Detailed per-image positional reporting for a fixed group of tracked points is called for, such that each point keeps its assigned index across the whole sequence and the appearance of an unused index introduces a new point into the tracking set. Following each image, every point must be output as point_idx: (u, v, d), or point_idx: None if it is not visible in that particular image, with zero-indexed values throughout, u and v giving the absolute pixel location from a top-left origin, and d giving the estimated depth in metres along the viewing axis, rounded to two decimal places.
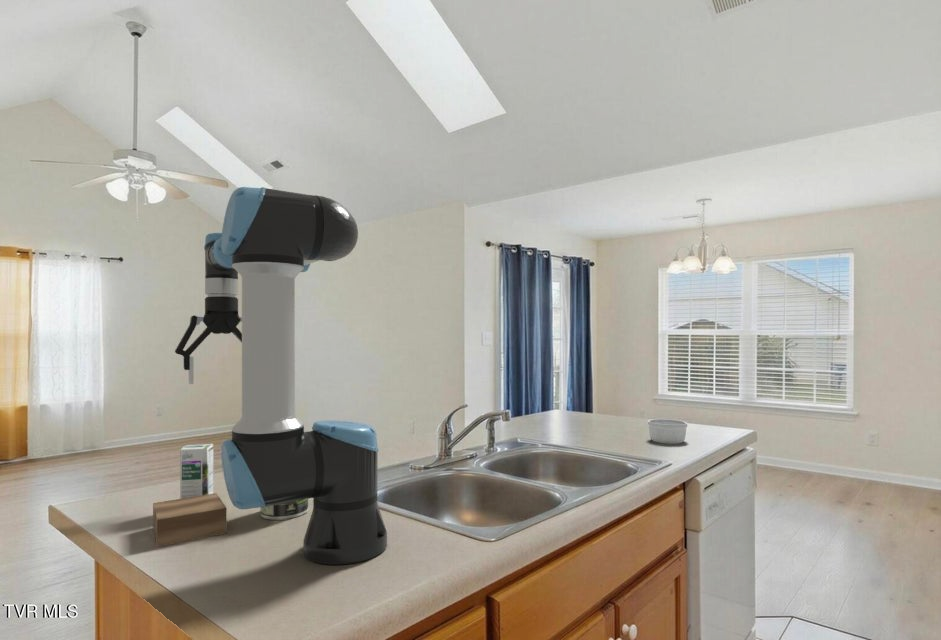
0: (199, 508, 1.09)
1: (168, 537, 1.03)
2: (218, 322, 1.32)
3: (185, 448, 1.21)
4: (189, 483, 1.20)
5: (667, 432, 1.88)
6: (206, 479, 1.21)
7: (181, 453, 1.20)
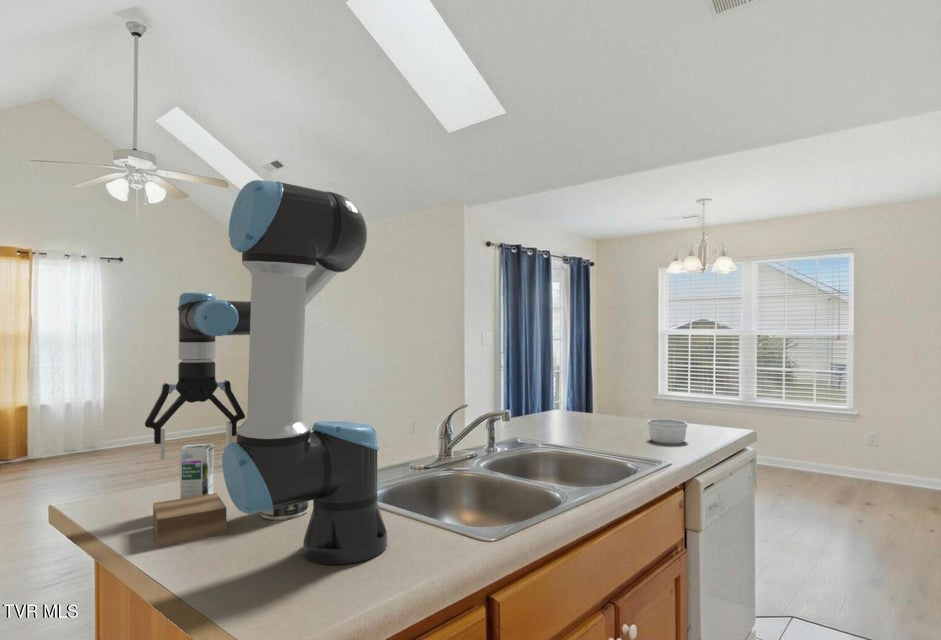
0: (199, 508, 1.09)
1: (168, 537, 1.03)
2: (193, 390, 1.21)
3: (185, 448, 1.21)
4: (189, 483, 1.20)
5: (667, 432, 1.88)
6: (206, 479, 1.21)
7: (181, 453, 1.20)
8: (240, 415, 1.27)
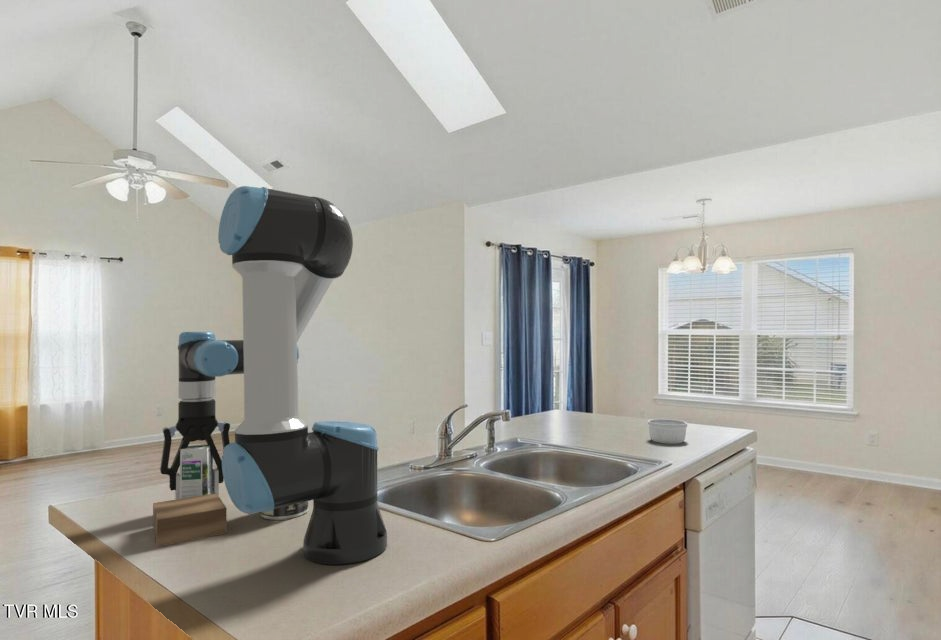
0: (199, 508, 1.09)
1: (168, 537, 1.03)
2: (193, 429, 1.21)
3: None
4: (189, 483, 1.20)
5: (667, 432, 1.88)
6: (206, 479, 1.21)
7: (181, 453, 1.20)
8: None
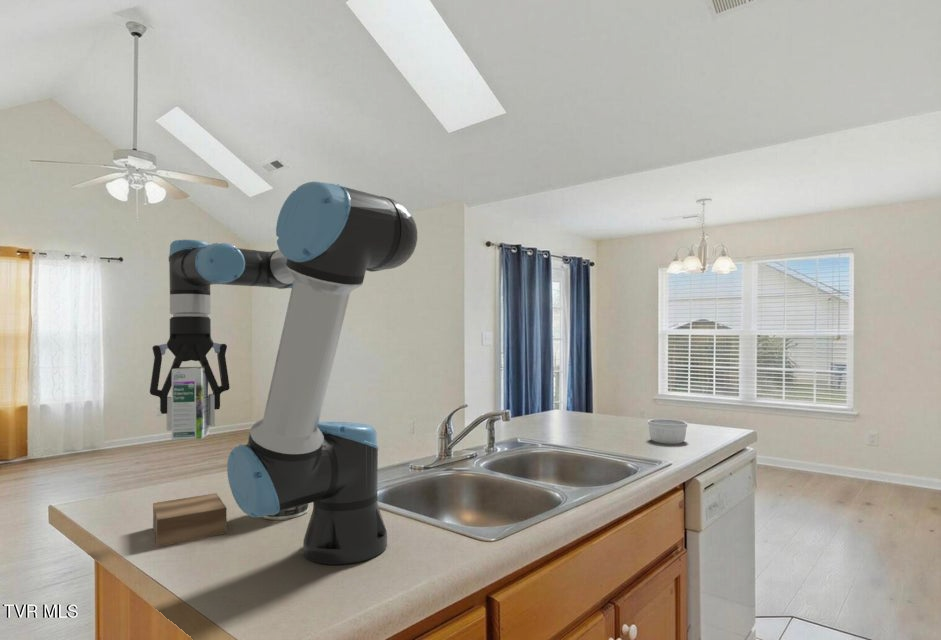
0: (199, 508, 1.09)
1: (168, 537, 1.03)
2: (185, 347, 1.09)
3: (177, 368, 1.09)
4: (181, 406, 1.08)
5: (667, 432, 1.88)
6: (200, 402, 1.09)
7: (172, 373, 1.09)
8: (224, 385, 1.14)
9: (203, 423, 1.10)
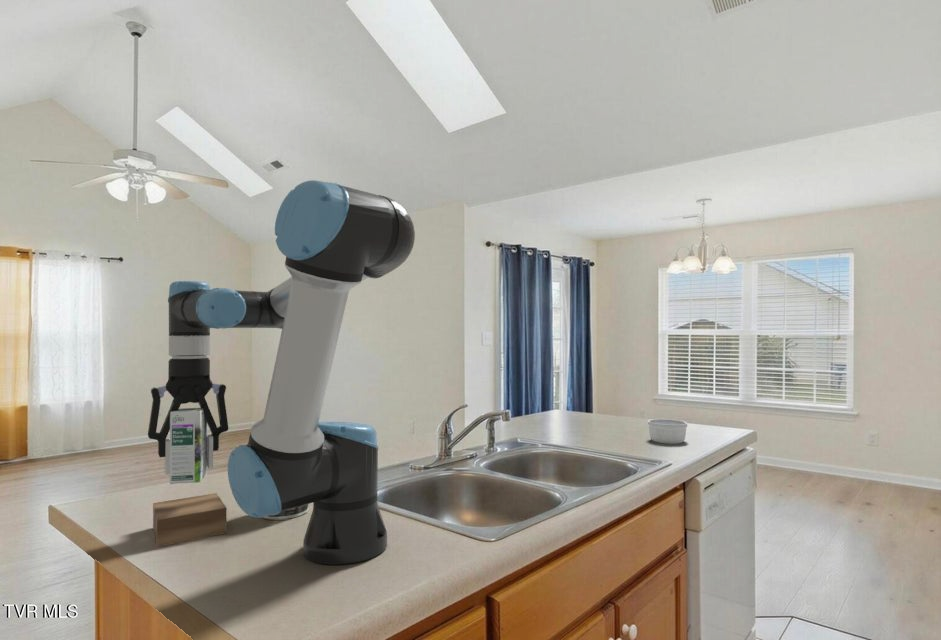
0: (199, 508, 1.09)
1: (168, 537, 1.03)
2: (184, 389, 1.09)
3: None
4: (180, 449, 1.08)
5: (667, 432, 1.88)
6: (199, 445, 1.08)
7: (171, 416, 1.08)
8: (223, 426, 1.13)
9: (201, 466, 1.10)
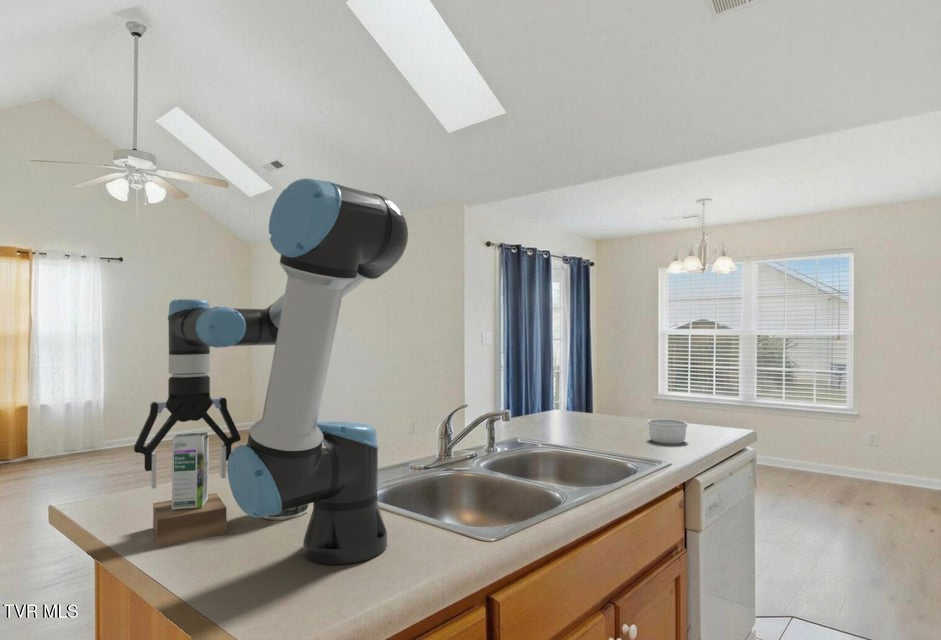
0: (199, 508, 1.09)
1: (168, 537, 1.03)
2: (184, 408, 1.08)
3: (178, 436, 1.08)
4: (182, 475, 1.08)
5: (667, 432, 1.88)
6: (201, 470, 1.09)
7: (173, 441, 1.08)
8: (235, 437, 1.14)
9: (203, 491, 1.10)
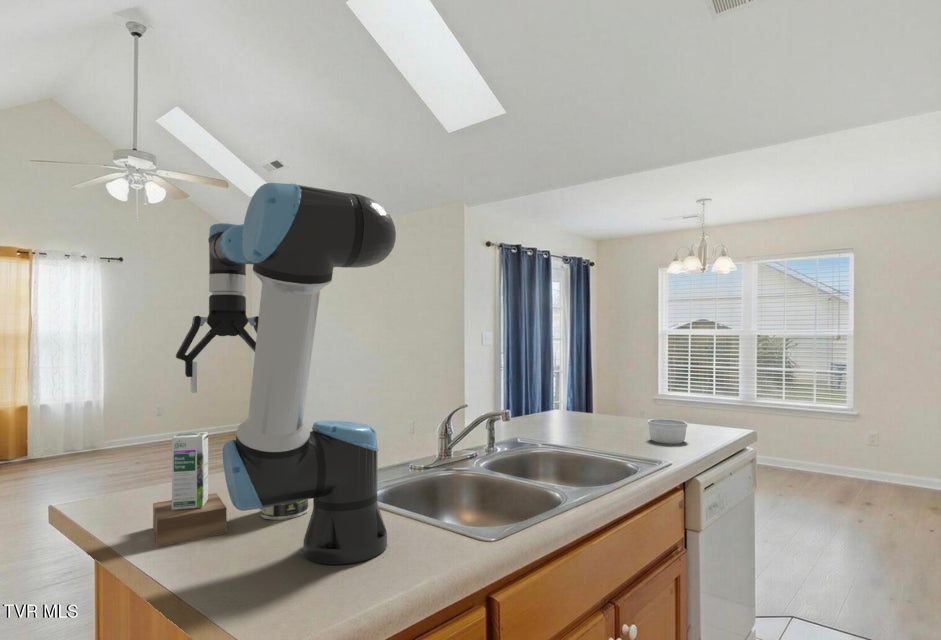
0: (199, 508, 1.09)
1: (168, 537, 1.03)
2: (224, 323, 1.19)
3: (177, 436, 1.08)
4: (182, 475, 1.07)
5: (667, 432, 1.88)
6: (201, 470, 1.09)
7: (173, 442, 1.07)
8: None
9: (203, 491, 1.10)
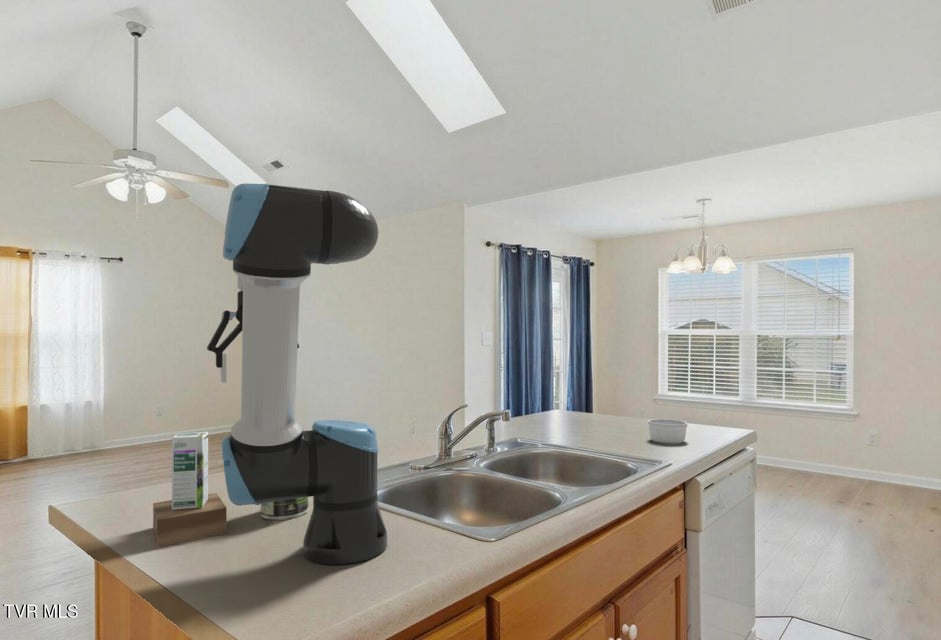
0: (199, 508, 1.09)
1: (168, 537, 1.03)
2: None
3: (177, 436, 1.08)
4: (182, 475, 1.07)
5: (667, 432, 1.88)
6: (201, 470, 1.09)
7: (173, 442, 1.07)
8: None
9: (203, 491, 1.10)
